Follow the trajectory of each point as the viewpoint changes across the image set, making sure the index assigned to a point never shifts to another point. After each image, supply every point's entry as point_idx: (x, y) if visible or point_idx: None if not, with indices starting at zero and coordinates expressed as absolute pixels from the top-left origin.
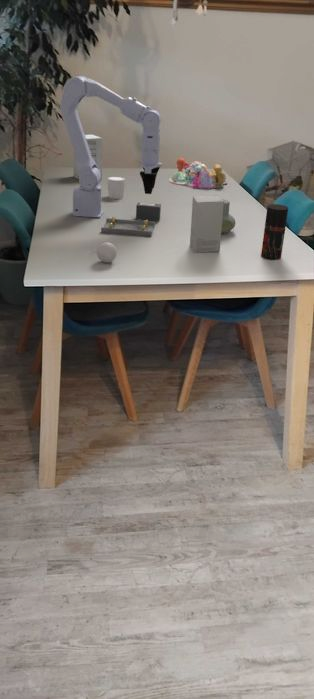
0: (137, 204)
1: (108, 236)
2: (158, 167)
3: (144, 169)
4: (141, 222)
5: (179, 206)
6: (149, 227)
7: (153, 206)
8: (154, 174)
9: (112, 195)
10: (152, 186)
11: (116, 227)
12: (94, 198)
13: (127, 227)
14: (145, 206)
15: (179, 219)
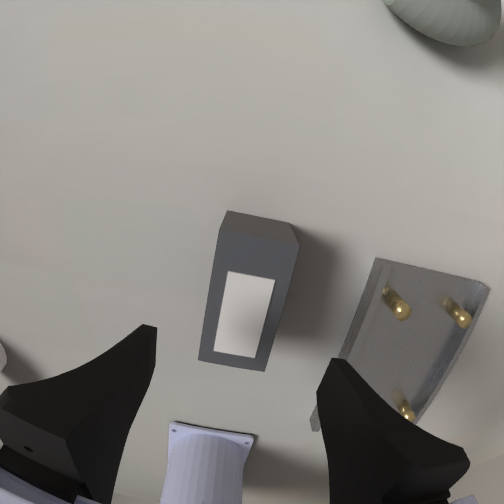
0: (243, 365)
1: (441, 398)
2: (67, 449)
3: (109, 500)
4: (368, 320)
5: (25, 103)
6: (413, 286)
7: (283, 285)
8: (465, 471)
9: (2, 366)
10: (376, 395)
11: (389, 394)
12: (239, 496)
13: (397, 364)
14: (276, 328)
15: (247, 106)
